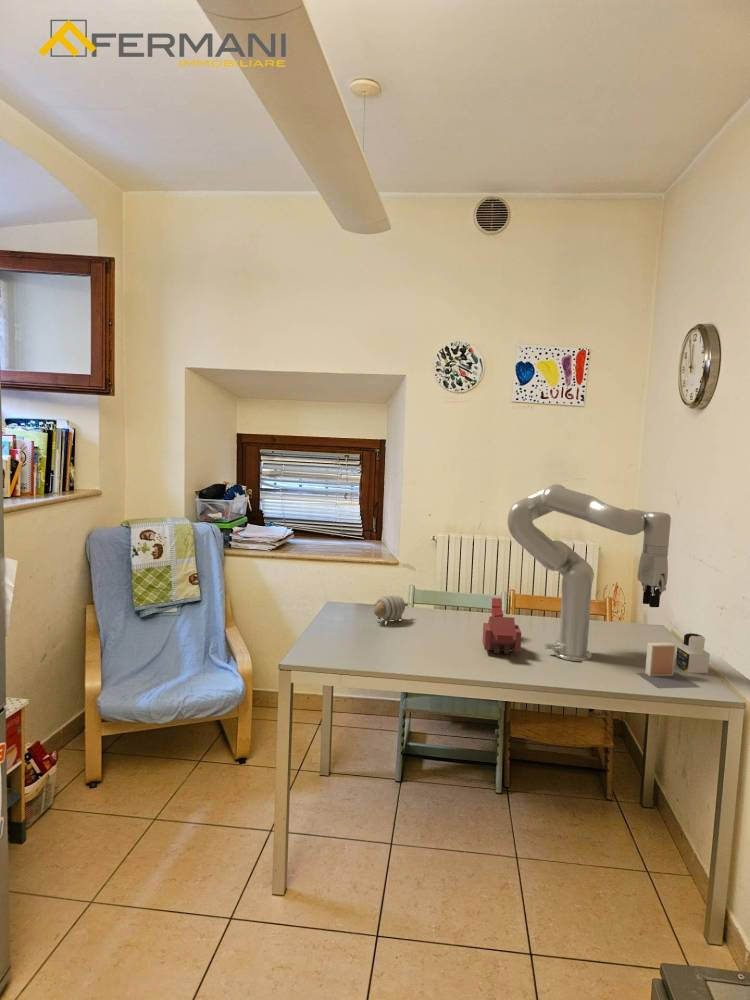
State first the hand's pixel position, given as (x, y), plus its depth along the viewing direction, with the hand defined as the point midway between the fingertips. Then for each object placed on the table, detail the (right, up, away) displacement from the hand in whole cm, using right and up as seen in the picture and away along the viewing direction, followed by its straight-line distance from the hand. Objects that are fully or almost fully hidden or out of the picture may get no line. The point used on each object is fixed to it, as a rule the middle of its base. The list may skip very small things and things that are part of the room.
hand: (650, 604), depth 205 cm
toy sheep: (-84, -14, +42) cm, 95 cm away
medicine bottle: (+14, -22, +1) cm, 26 cm away
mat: (+1, -22, -10) cm, 24 cm away
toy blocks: (-46, -18, +18) cm, 53 cm away
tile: (0, -21, -5) cm, 22 cm away
